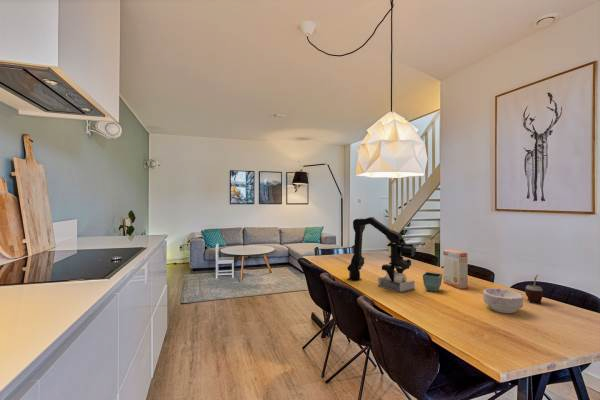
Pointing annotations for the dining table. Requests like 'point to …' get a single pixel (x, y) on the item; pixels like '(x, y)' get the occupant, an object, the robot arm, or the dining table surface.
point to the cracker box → (455, 269)
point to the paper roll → (397, 278)
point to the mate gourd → (534, 293)
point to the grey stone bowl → (503, 300)
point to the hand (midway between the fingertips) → (395, 280)
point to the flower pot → (432, 281)
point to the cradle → (396, 285)
